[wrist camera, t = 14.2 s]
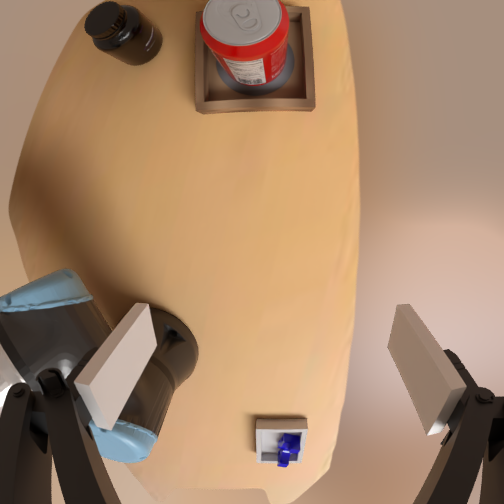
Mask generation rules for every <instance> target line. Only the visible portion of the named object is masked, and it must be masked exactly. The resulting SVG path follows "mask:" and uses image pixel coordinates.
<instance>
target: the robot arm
mask: <svg viewBox="0 0 504 504" xmlns="http://www.w3.org/2000/svg"><path fill="white" fill-rule="evenodd" d="M388 349H389V351H390V353H391V355H392V358H393V360H394V362H395V364H396V366H397V368H398V370H399V372H400V375H401V377H402V379H403V381H404V383H405V386H406V388H407V390H408V392H409V394H410V397H411V399H412V401H413V404H414V406H415V408H416V411H417V413H418V415H419V417H420V420H421V422H422V425H423V427H424V430H425V432H426V435H431V434H435V433H439V432H442V430H443V429H444V427H445V425H446V424H448V426H449V428H450V430H449V432H448V433H447V435H446V436H445V438H444V439H443V441H442V442H441V445H442V447H441V449H440V452H439V454H438V456H437V458H436V460H435V463H434V465H433V467H432V469H431V471H430V473H429V475H428V477H427V479H426V481H425V483H424V485H423V487H422V488H421V490H420V492H419V494H418V496H417V497H416V499H415V501H414V503H413V504H467V502H468V499H469V497H470V494H471V492H472V489H473V486H474V483H475V481H476V478H477V475H478V472H479V469H480V465H481V463H482V459H483V472H482V484H481V494H480V502H479V504H504V397H495V395H494V394H493V393H492V392H491V391H490V390H488V389H486V388H483V387H478V386H477V384H476V383H475V381H474V380H473V378H472V377H471V375H470V374H469V372H468V371H467V369H465V366H464V365H463V364H462V363H461V361H460V359H459V358H458V356H457V355H456V354H455V353H453V352H452V351H450V350H449V349H447V350H442V348H441V347H440V345H439V344H438V343H437V341H436V340H435V338H434V337H433V335H432V334H431V333H430V331H429V330H428V329H427V327H426V326H425V324H424V323H423V321H422V320H421V319H420V317H419V316H418V315H417V313H416V312H415V311H414V309H413V308H412V307H411V305H410V304H402V305H397V308H396V312H395V317H394V321H393V326H392V330H391V334H390V339H389V343H388ZM197 360H198V346H197V342H196V340H195V338H194V336H193V334H192V333H191V331H190V330H189V329H188V328H187V327H186V326H185V325H184V324H183V323H182V322H181V321H180V320H179V319H177V318H176V317H174V316H172V315H171V314H169V313H167V312H164V311H162V310H158V309H154V308H149V304H147V303H135V305H134V306H133V307H132V308H131V309H130V311H129V312H128V313H127V314H125V315H124V316H123V318H122V319H121V320H120V321H119V323H118V324H117V326H116V328H115V329H114V330H113V332H112V330H111V329H110V327H109V326H108V324H107V322H106V321H105V319H104V318H103V316H102V314H101V313H100V311H99V309H98V307H97V306H96V304H95V302H94V300H93V296H92V295H91V294H89V292H88V290H87V289H86V287H85V285H84V284H83V282H82V280H81V279H80V277H79V276H78V274H77V273H76V272H75V271H73V270H71V269H61V270H58V271H55V272H53V273H51V274H48V275H46V276H44V277H42V278H39V279H37V280H35V281H33V282H30V283H28V284H26V285H24V286H22V287H20V288H18V289H15V290H14V291H12V292H10V293H8V294H6V295H3V296H1V297H0V504H52V502H51V469H52V455H53V459H54V464H55V468H56V472H57V476H58V480H59V483H60V487H61V491H62V494H63V497H64V500H65V504H121V502H120V500H119V498H118V496H117V493H116V491H115V489H114V487H113V485H112V482H111V480H110V478H109V475H108V473H107V470H106V468H105V466H104V463H103V461H102V458H101V456H103V457H105V458H108V459H111V460H114V461H118V462H124V463H136V462H140V461H143V460H144V459H146V458H147V457H148V456H149V454H150V452H151V450H152V448H153V445H154V443H156V441H157V439H158V435H159V432H160V430H161V427H162V424H163V421H164V418H165V415H166V413H167V410H168V407H169V404H170V401H171V399H172V396H173V393H174V391H175V390H176V389H177V388H178V387H179V386H180V385H181V384H182V383H183V382H184V381H185V380H186V379H187V378H188V377H189V376H190V375H191V374H192V372H193V371H194V369H195V366H196V363H197Z"/></svg>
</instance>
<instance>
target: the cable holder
mask: <svg viewBox="0 0 504 504" xmlns="http://www.w3.org/2000/svg"><path fill="white" fill-rule="evenodd" d="M278 448H281V449H280V450H279V451H278V464H277V466H280V467H287V466H288V465H289V458H290V455H291V453H295V454H298V453H299V452H300V450H301V448H300V436H298V435H291V434H286V433H284V434H283V436H282V437H281V439H280V440H279V442H278Z"/></svg>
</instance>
